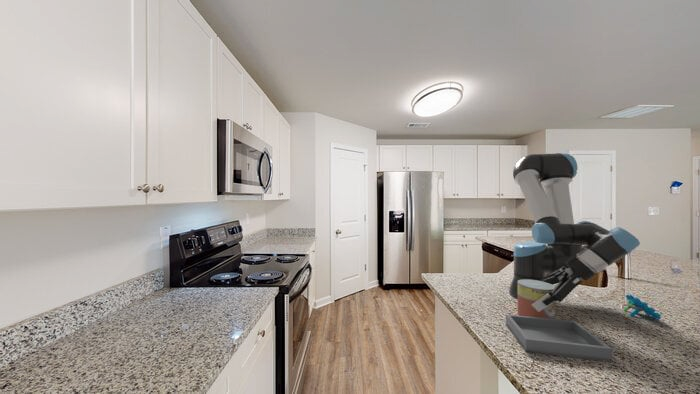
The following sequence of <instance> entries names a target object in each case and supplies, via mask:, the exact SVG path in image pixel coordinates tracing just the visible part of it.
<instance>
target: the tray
mask: <svg viewBox="0 0 700 394" xmlns="http://www.w3.org/2000/svg"><path fill="white" fill-rule="evenodd" d="M505 325H506V327H507V328H508V330H509V331H510V332H511V334H512V335H513V336H514V338H515V339H516V341H517V342H518V343H519V345H520V346H521V347H522V349H523V350H524V351H525V352H527V353H534V354H543V355H551V356H558V357H566V358H572V359H573V358H575V359H582V360H590V361H591V360H592V361H599V362H604V363H605V362H606V363H613V348H611V347H610V346H609V345H608V344H607V343H605V342H604V341H603V340H601V339H600V338H598V337H597V336H596V335H594V333H592V332H591V331H589V330H587V329H586V328H585V327H584V326H582V325H581V324H579V322H577V321H576V320H568V319H567V320H566V319H558V318H557V319H556V318H555V319H549V318H538V317H528V316H518V315H514V314H507V313H506V314H505Z"/></svg>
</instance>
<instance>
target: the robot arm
mask: <svg viewBox="0 0 700 394" xmlns="http://www.w3.org/2000/svg"><path fill="white" fill-rule="evenodd" d="M512 172H513V173H512V177H513V180H514V182H515V184H516V185H518V186H519V188H520V190H521V192H522V195H523V198H524V200H525V203H526V204H527V208H528V209H529V211H530V213H531V217H532V218H533V221H534V224H533V225H532V227H531V237H532V239H533V241H524V242H519V243H518V242H517V244H515V246H514V248H513V278H512V280H511V283H510V285H509V288H508V289H509V290H508V293H509V295H510V296H512V297H514V298H516V299H518V283H517V281H518V280H521V279H530V280H538V281H543V282H547V283H550V284H552V285H554V286H555V288H554V289H553V291H552V292H548V294H546V295H545V296H543V297H542V298H540V299H539V300H538V301H536V302H535V303H533V304H532V306H533V307H534V308H535V309H536V310H537V311H538V312H540V311H541V310H543V309H544V308H546V307H547V306H549V305H550V304H552V303H553V302H555V303H556V302H558V303H560V302H562V301H564V299H565V298H567V297H568V295H570V294H571V293H572V291H574V289H576V287H578V286H579V285H580V284H582V282H583V281H582V280H581V279H580V278H582V279H583V280H584V281H585V282H586V281H589V280H590V279H591V278H593V277H595V276H596V273H600V272H601V271H607V268H608V267H609V266H610V265H613V264H614V263H617V262H618V261H619V260H620V259H621V258H623V257H625V256H627V255H629V254H631V253H632V252H633V251H634V250H635V249H636V248H637V247H640V244H641V242H640V240H639V239H638V238H637V237H636V236H635V235H633V234H632V233H631V232H630V231H628V230H626V229H625V228H622V227H614V228H612V229H610V230H608V229H606V228H604V227H602V226H600V225H599V224H597V223H594V222H590V221H588V220H582V221H578V222H576V223H575V220H574V214H573V208H572V207H573V206H572V201H571V193H570V186H569V184H571V183H572V182H573V178H575V177H576V176H577V174H578V162H577V160H576V158H575V157H574V156H573V155H571V154H569V153H559V152H557V153H537V154H536V153H533V154H527V155H526V156H523V157H521V158H520V159H519V160H518V161H517V162H516V163H515V165H514V167H513V171H512ZM584 246H586V247H584Z"/></svg>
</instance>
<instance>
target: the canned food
mask: <svg viewBox="0 0 700 394" xmlns="http://www.w3.org/2000/svg"><path fill="white" fill-rule="evenodd" d="M517 283H518V298H517V308H516V309H517V313H516V314H517V315H518V316H528V317H538V318H549V319H556V301H555V302H553V303H552V304H550V305H549V306H547V307H546V308H544V309H543V310H541V311H540V312H538V311H537V310H536V309H535V308H534V307H533V306H532V304H533V303H535V302H536V301H538V300H539V299H540V298H542V297H543V296H545V295H546V294H548V292H552V291H553V289H554V288H555V287H556V285H555V284H554V285H552V284H550V283H547V282H543V281H538V280H530V279H521V280H518V281H517Z"/></svg>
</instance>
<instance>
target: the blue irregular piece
mask: <svg viewBox="0 0 700 394" xmlns="http://www.w3.org/2000/svg"><path fill="white" fill-rule="evenodd" d="M625 297H626V300H627V301H626V303H627V306H626V307H625V308H624V309H623V311H624V312H627V311H628V310H630V309H632V310H633V311H632V312H631V313H629V315H630V316H631V317H634V316H636V315H637V314H638V313H640V312H641V313H642V312H644V313H645V314H646V315H647V316H651V317H652V318H653V319H655V320H656V319H658V320H661V319H662V317H661V313H659V312H656V311H657V310H656V309H655V308H653V307H649V306H648V303H647V302H645V301H641V299H640V298H639V297H637V296H636V297H634V296H633V295H632V294H625Z"/></svg>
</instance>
